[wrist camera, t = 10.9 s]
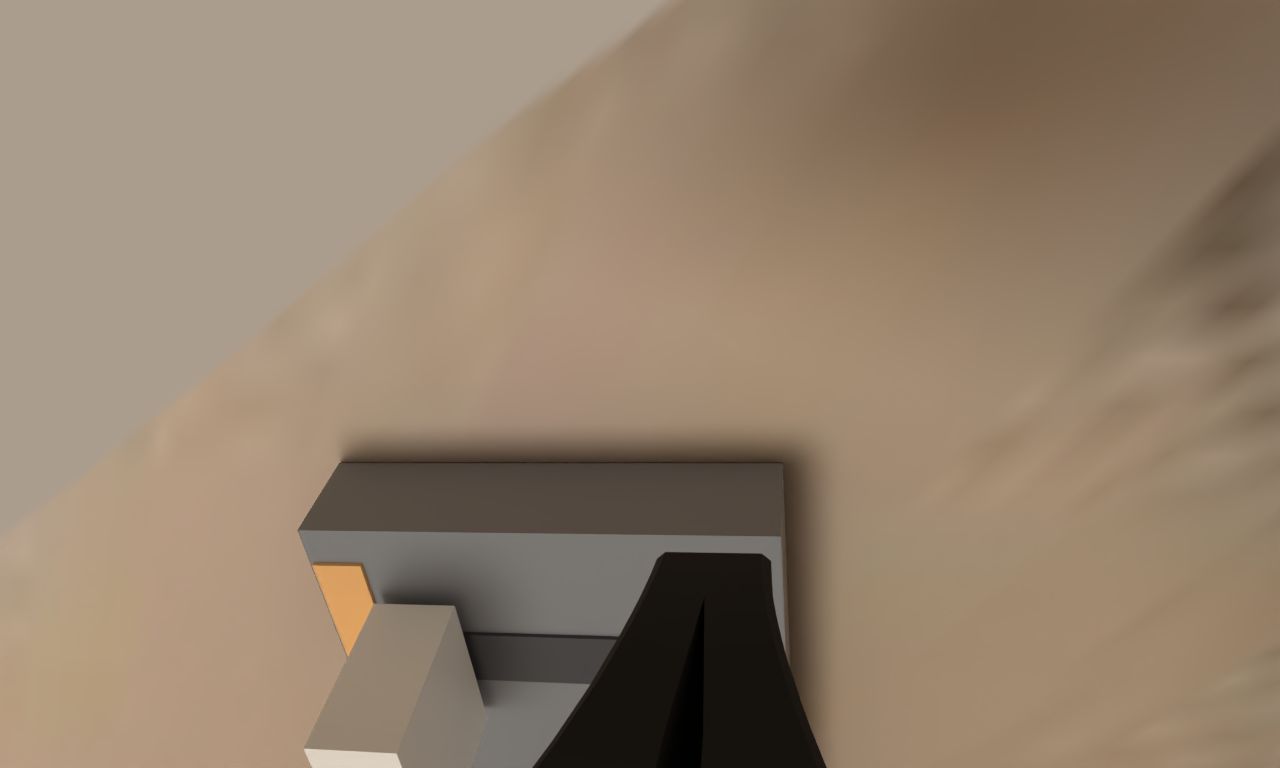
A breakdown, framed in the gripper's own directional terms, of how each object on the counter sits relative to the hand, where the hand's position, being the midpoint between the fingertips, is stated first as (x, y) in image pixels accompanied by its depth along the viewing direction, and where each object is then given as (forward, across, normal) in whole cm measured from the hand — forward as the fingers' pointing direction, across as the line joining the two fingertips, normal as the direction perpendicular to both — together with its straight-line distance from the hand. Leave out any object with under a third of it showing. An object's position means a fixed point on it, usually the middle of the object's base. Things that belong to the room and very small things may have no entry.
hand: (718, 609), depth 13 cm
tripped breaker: (+7, +8, +9) cm, 14 cm away
